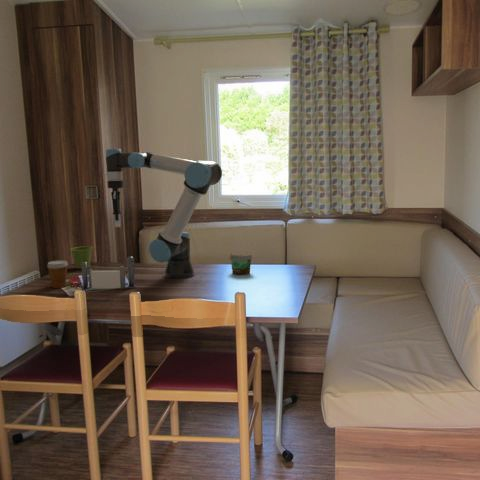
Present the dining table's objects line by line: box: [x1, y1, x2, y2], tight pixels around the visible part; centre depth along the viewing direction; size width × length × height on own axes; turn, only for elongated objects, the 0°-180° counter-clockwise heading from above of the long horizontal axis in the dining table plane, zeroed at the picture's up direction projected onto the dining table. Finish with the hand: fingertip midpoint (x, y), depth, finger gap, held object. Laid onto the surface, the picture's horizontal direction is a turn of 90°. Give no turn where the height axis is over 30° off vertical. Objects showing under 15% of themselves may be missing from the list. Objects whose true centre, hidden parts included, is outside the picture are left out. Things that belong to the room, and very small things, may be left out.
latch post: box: [126, 255, 137, 289], centre depth 248 cm, size 4×4×15 cm
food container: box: [229, 253, 253, 276], centre depth 271 cm, size 12×6×10 cm, turn 68°
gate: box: [87, 265, 127, 289], centre depth 245 cm, size 17×2×10 cm, turn 87°
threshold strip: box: [90, 285, 128, 290], centre depth 248 cm, size 17×3×1 cm, turn 96°
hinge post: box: [81, 262, 91, 291], centre depth 245 cm, size 4×4×13 cm
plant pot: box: [69, 245, 93, 270], centre depth 291 cm, size 12×12×11 cm
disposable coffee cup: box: [46, 260, 69, 289], centre depth 251 cm, size 10×10×12 cm
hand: (117, 226), depth 264 cm, fingers closed
